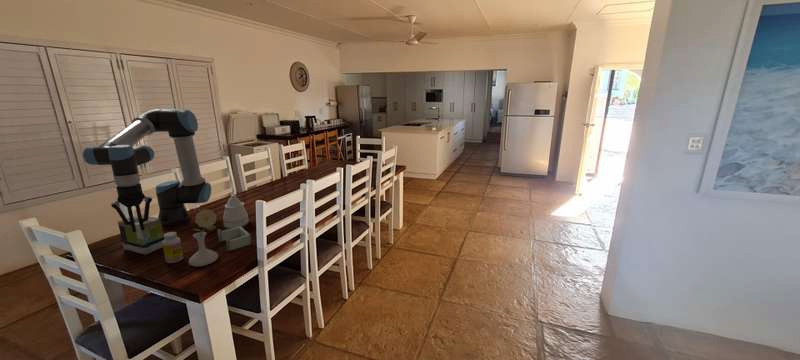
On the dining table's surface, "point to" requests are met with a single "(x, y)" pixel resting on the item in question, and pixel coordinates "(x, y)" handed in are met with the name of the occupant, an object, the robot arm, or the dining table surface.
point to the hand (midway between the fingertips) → (140, 237)
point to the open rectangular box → (232, 233)
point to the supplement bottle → (172, 247)
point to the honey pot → (235, 213)
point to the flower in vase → (203, 254)
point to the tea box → (150, 236)
